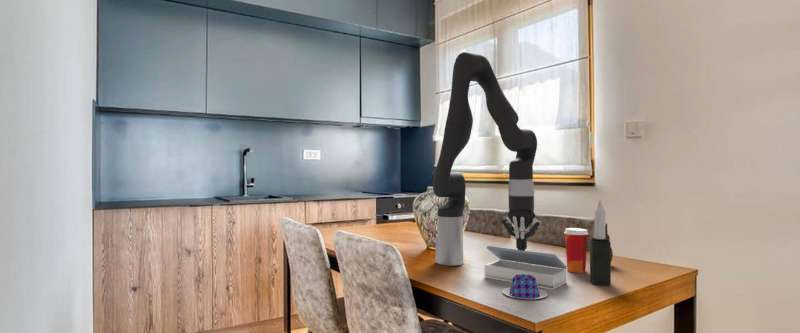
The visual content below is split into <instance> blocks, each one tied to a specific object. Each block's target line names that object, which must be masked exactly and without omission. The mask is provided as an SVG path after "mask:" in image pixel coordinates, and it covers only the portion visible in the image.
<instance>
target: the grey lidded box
mask: <svg viewBox="0 0 800 333" xmlns="http://www.w3.org/2000/svg"><path fill="white" fill-rule="evenodd" d="M518 274H526V275H531V276H534V277H535V278H536V282H537V286H538V288H539V289H540V288H541V289H546V290H552V291H553V290H556V289H557V288H559V287H561V286H564V285H565V284H566V283H567V268H566V269H561V268H555V267H548V266H541V265H534V264H528V263H521V262H514V261H507V260H501V259H497V260H495V261H492V262H489V263H486V264H485V265H484V278H485V279H490V280H491V279H492V280H498V281H503V282H507V281H508V283H512V280H513V277H514V276H515V275H518Z"/></svg>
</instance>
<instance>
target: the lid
mask: <svg viewBox="0 0 800 333" xmlns="http://www.w3.org/2000/svg"><path fill="white" fill-rule="evenodd" d="M486 249H487V250H488V251H490V253H492V254H493V255H494V256H495V257H496V258H498V260H505V261H512V262H519V263H526V264H532V265H539V266H546V267H553V268H559V269H566V270H567V265H566V264H565V263H564V262H563V261H562V260H561V259H560V258H559V257H558V256H557V255H556V254H552V253H545V252H538V251H530V250H525V251H523V250H518V249H515V248H514V249H513V248H507V247H497V246H491V245H486Z"/></svg>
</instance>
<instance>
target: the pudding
mask: <svg viewBox="0 0 800 333" xmlns="http://www.w3.org/2000/svg"><path fill="white" fill-rule="evenodd" d="M501 291H502V294H504V295H506V296H507V297H510V298H514V299H517V298H518V299H520V300H523V299H530V298H531V299H530V300H538V299H539V300H541V299H544V298H546V297H548V292H547V291H545V290H542V289H540V288H539V287H538V286H537V282H536V278H535V277H534V276H531V275H526V274H518V275H515V276H514V277H513V280H512V282H511V285H510V287H505V288H503V289H502V290H501ZM508 293H509V294H510V295H511V294H512V295H511V296H510V295H509V294H508ZM514 296H515V297H514ZM516 297H517V298H516ZM522 298H523V299H522Z"/></svg>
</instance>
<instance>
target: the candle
mask: <svg viewBox="0 0 800 333" xmlns="http://www.w3.org/2000/svg"><path fill="white" fill-rule="evenodd" d="M605 225H606V210H605V209H604V208H603V205H602V200H601V199H599V200H598V204H597V206H596V208H595V210H594V237H591V239H589V282H591V285H594V286H606V287H608V286H611V285H612V282H611V280H612V278H611V276H612V275H611V274H612V270H611V269H612V267H611V266H612V265H611V264H612V261H611V248H612V247H611V241H609V239H608V238H605Z"/></svg>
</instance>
